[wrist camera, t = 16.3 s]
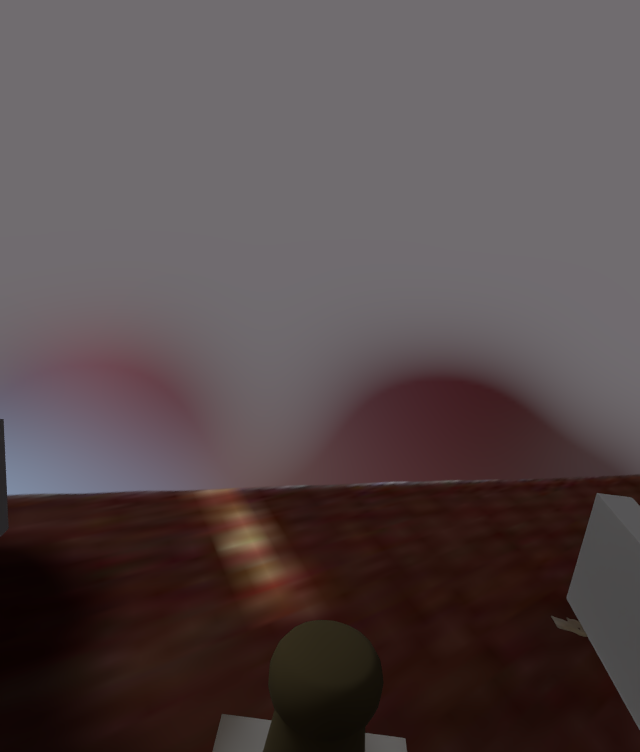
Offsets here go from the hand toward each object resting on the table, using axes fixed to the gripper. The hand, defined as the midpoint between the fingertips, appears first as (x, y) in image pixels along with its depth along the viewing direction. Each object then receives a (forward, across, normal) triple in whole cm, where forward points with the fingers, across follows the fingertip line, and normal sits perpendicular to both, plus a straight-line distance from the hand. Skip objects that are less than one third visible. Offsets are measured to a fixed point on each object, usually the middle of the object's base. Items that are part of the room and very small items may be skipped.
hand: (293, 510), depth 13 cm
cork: (+10, +2, -24) cm, 26 cm away
